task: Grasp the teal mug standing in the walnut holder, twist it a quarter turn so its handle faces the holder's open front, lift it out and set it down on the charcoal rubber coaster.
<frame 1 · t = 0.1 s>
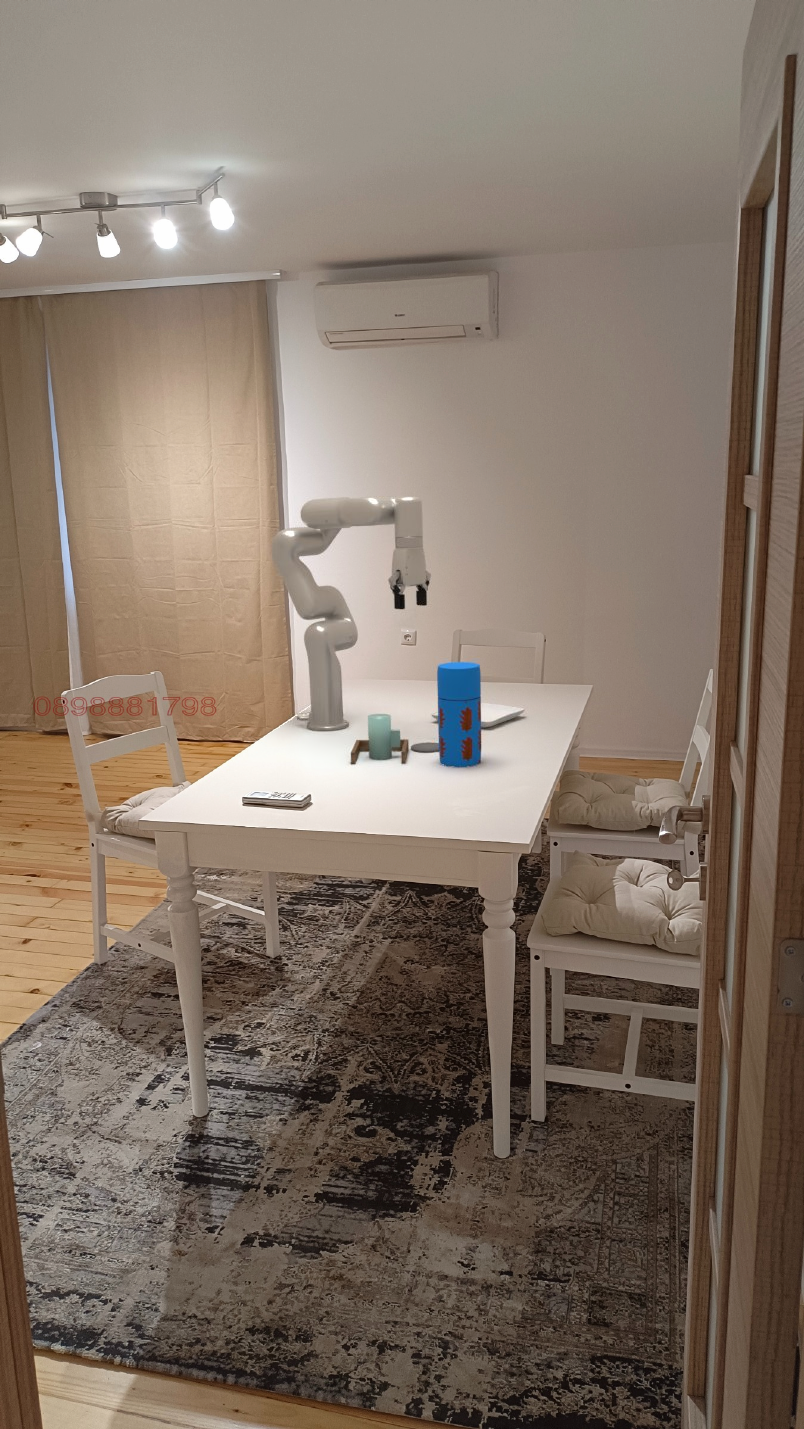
hand: (410, 607, 281), 37 cm above the table, tool pointing down, fingers open, 9 cm apart
coaster: (427, 748, 279), on the table
salad plate: (478, 722, 311), on the table
thermos: (460, 762, 264), on the table
holder: (380, 756, 271), on the table
teal mug: (380, 757, 271), on the table
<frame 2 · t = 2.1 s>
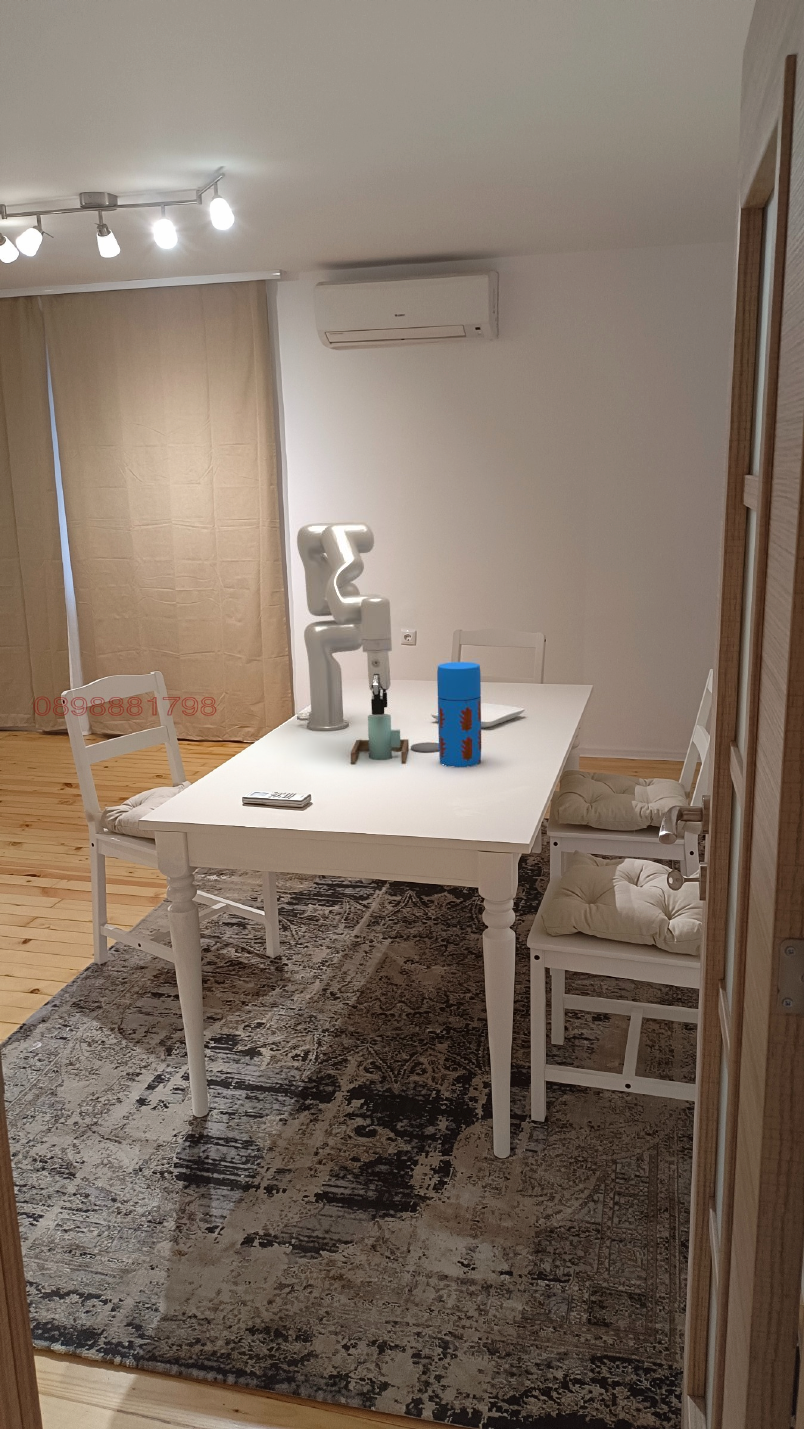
hand: (379, 710, 268), 12 cm above the table, tool pointing down, fingers open, 9 cm apart
nothing on the table moved.
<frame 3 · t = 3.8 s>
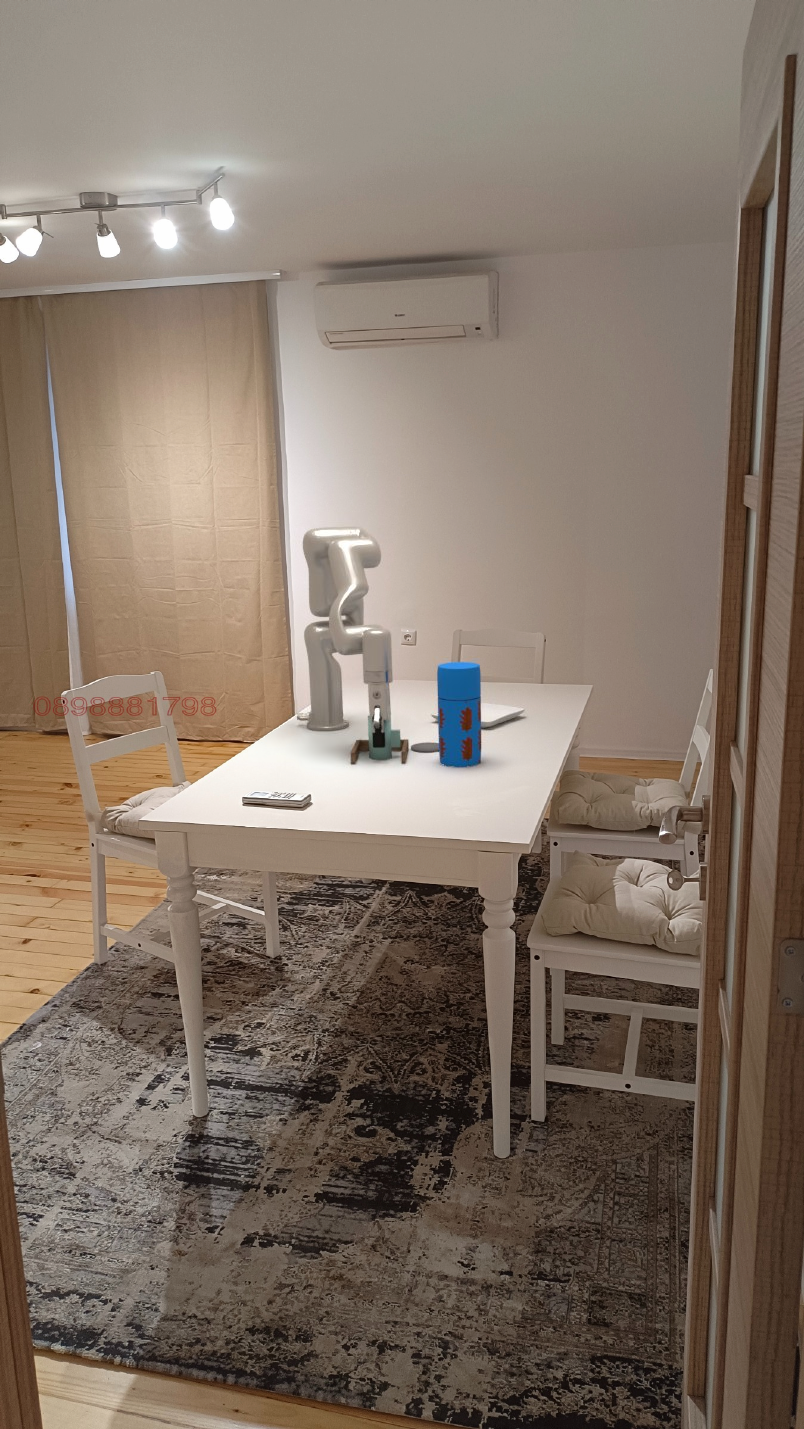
hand: (380, 743, 270), 4 cm above the table, tool pointing down, fingers closed on teal mug, 6 cm apart
teal mug: (380, 757, 271), on the table, touching gripper
everything else where it was.
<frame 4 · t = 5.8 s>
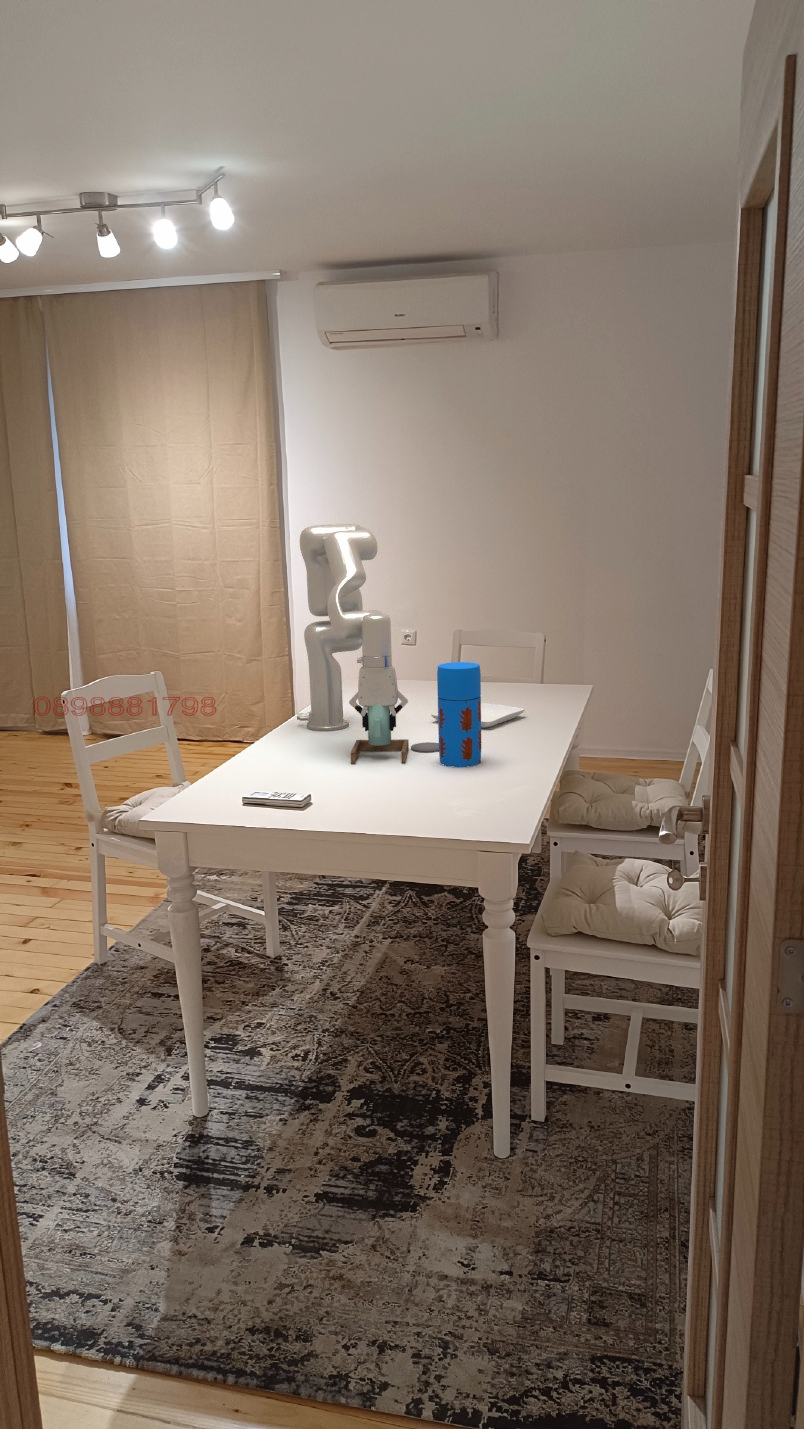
hand: (379, 729, 270), 7 cm above the table, tool pointing down, fingers closed on teal mug, 6 cm apart
teal mug: (379, 742, 271), point 4 cm above the table, touching gripper
everything else where it was.
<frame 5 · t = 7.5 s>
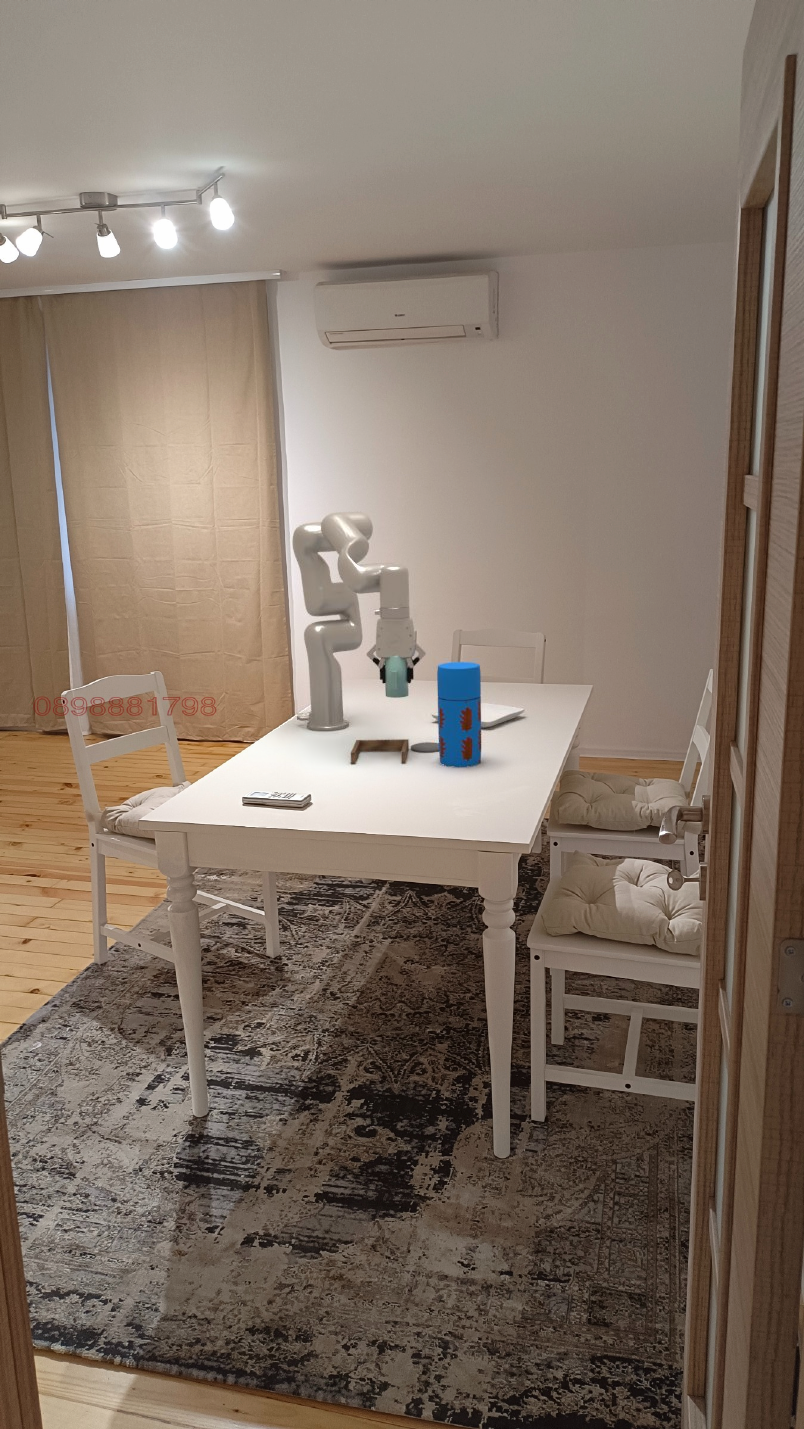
hand: (396, 681, 270), 19 cm above the table, tool pointing down, fingers closed on teal mug, 6 cm apart
teal mug: (397, 695, 271), point 16 cm above the table, touching gripper
everything else where it was.
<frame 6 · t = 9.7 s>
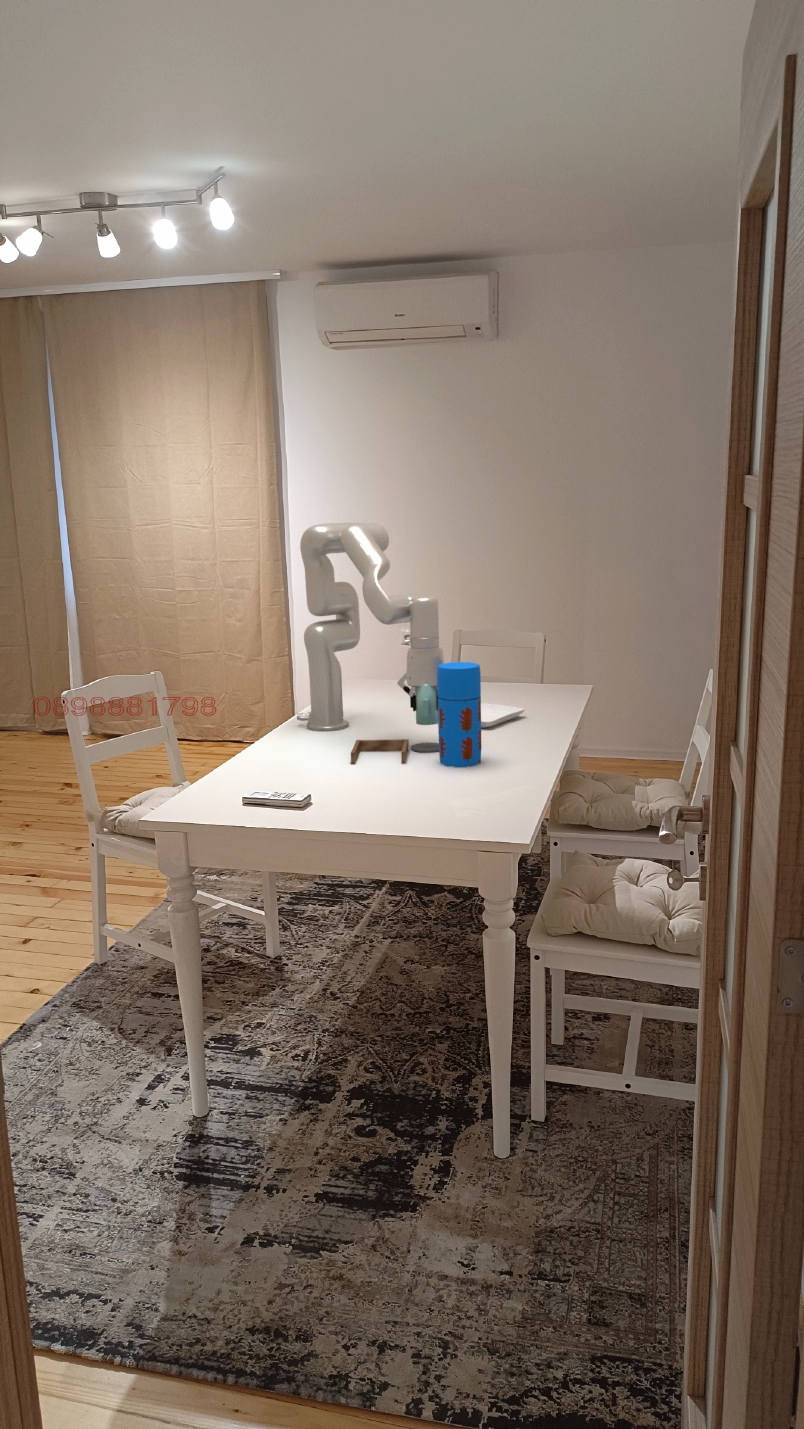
hand: (426, 709, 276), 11 cm above the table, tool pointing down, fingers closed on teal mug, 6 cm apart
teal mug: (427, 722, 277), point 7 cm above the table, touching gripper
everything else where it was.
when the fingers open (5 cm above the table, at t = 11.6 s): teal mug drops 1 cm, resting on coaster.
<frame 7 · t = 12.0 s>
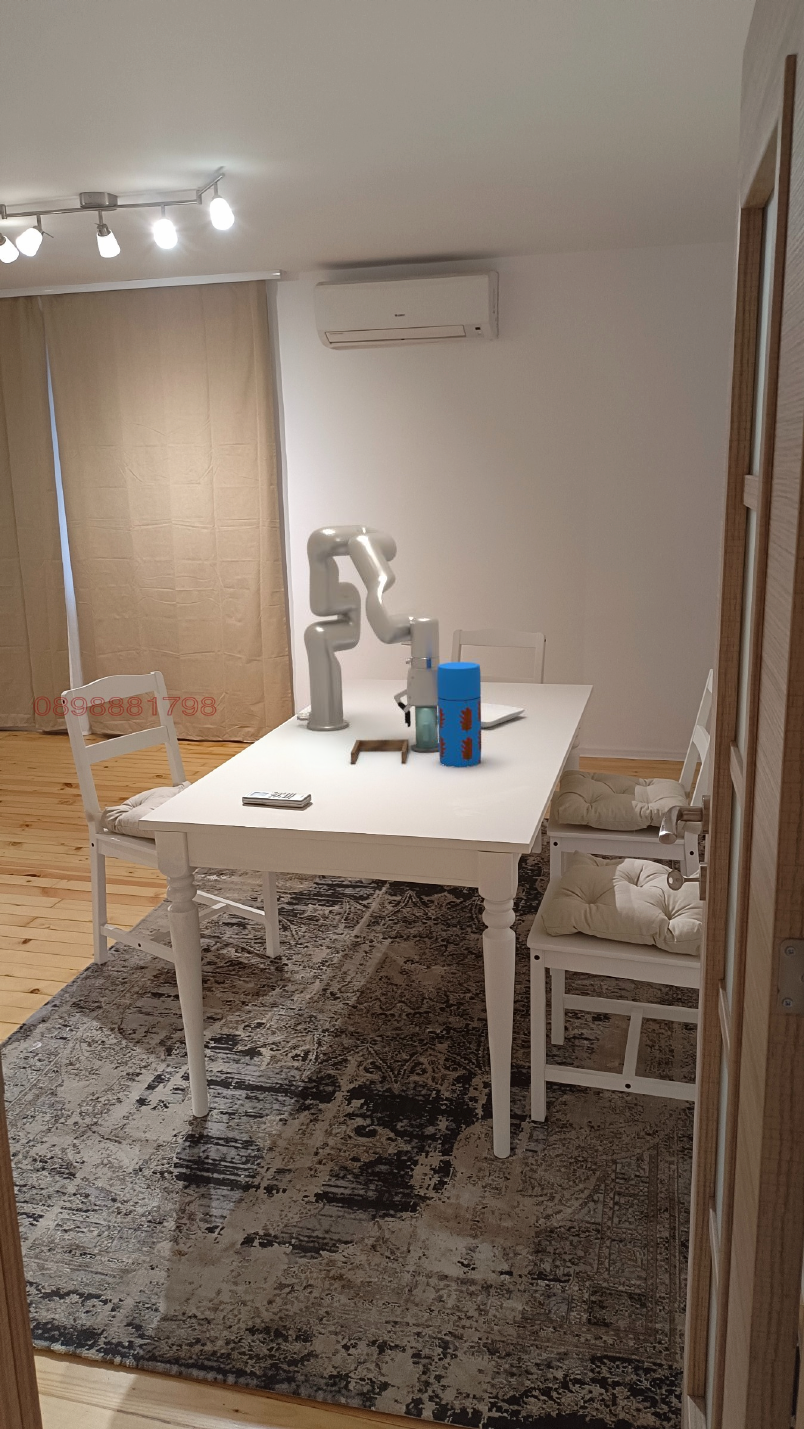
hand: (426, 725, 277), 6 cm above the table, tool pointing down, fingers open, 9 cm apart
teal mug: (427, 746, 279), point 1 cm above the table, touching coaster
everything else where it was.
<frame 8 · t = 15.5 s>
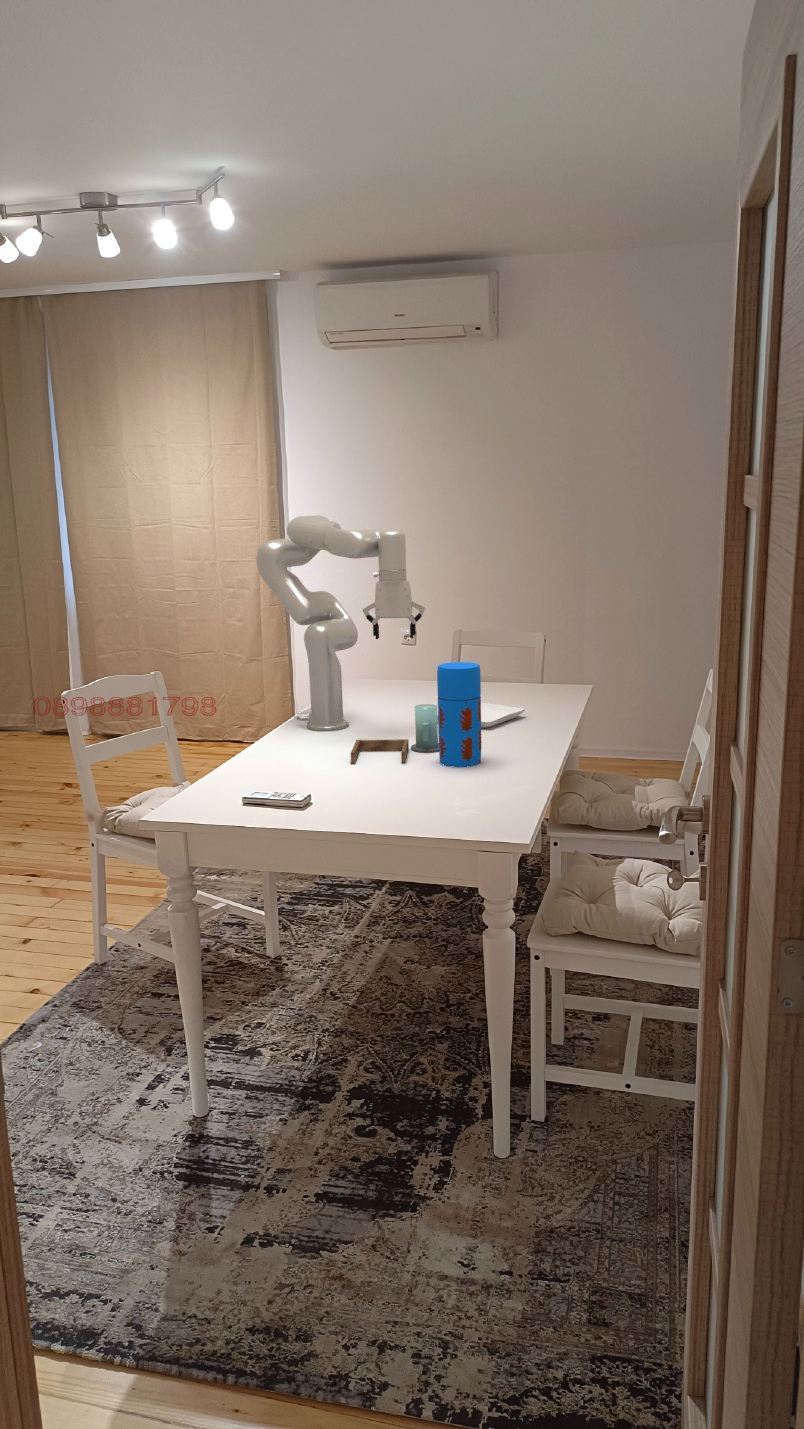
hand: (394, 638, 287), 28 cm above the table, tool pointing down, fingers open, 9 cm apart
nothing on the table moved.
at the end: teal mug 0.1 cm from the coaster (horizontally); teal mug tilted 0°; teal mug point 0.6 cm above the table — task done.
